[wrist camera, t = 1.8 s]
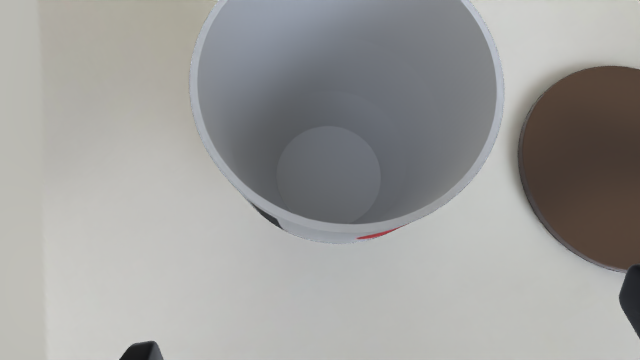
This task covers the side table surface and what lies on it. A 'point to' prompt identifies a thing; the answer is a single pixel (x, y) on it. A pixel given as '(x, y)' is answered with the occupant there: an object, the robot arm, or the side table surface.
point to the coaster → (587, 164)
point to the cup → (346, 108)
